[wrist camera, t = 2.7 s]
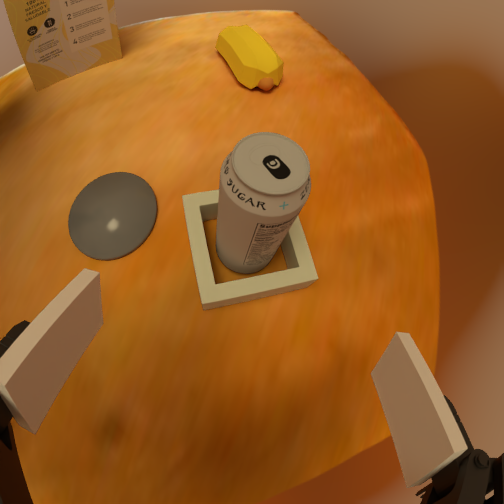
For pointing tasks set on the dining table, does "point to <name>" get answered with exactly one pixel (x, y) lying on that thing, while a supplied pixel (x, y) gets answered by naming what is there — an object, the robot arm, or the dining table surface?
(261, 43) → the yellow curved piece
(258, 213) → the energy drink can
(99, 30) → the pasta box
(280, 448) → the dining table surface
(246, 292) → the frame
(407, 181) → the dining table surface
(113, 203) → the coaster
